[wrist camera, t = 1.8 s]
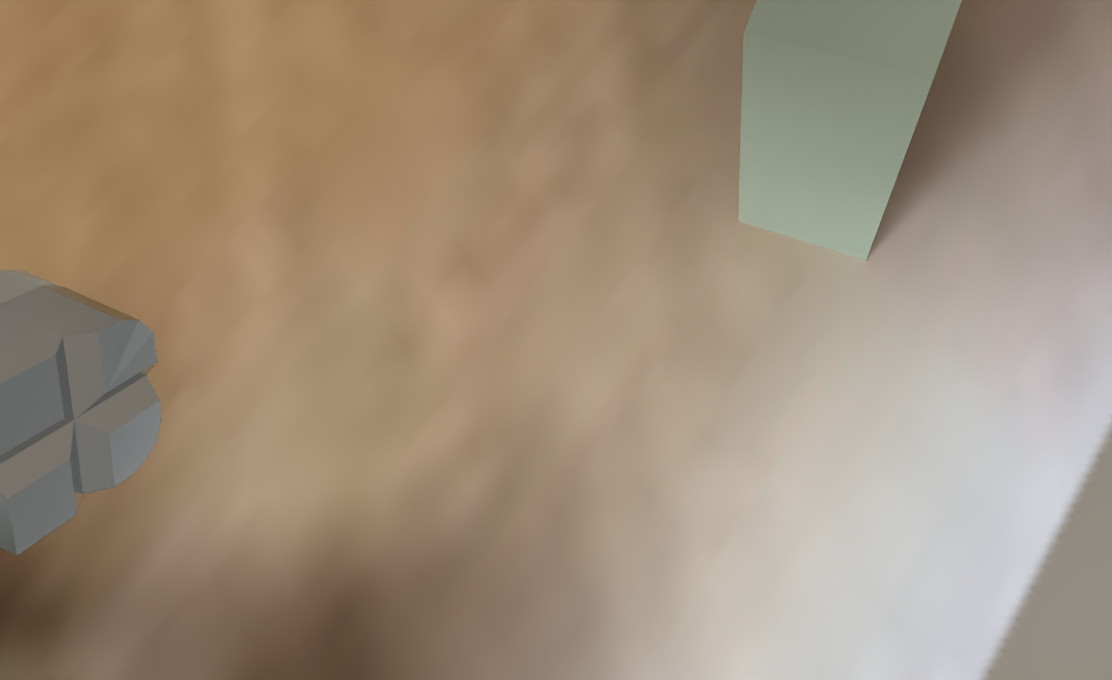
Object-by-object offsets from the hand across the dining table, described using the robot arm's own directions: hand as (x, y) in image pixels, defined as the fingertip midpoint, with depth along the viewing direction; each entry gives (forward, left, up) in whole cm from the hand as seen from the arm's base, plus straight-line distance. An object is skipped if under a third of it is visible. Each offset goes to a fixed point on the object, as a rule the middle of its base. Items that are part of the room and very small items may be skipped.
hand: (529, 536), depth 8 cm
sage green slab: (-8, +14, -20) cm, 26 cm away
